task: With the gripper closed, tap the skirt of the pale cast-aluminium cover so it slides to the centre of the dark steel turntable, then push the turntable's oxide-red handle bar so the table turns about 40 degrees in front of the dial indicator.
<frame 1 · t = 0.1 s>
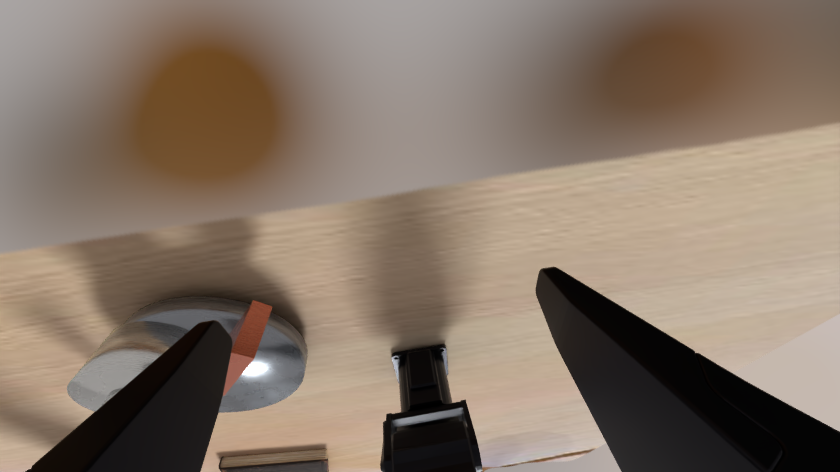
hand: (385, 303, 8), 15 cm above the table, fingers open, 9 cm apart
turntable: (208, 384, 27), point 5 cm above the table, hinge at 0.0°, touching cover
cover: (161, 347, 25), point 3 cm above the table, touching turntable
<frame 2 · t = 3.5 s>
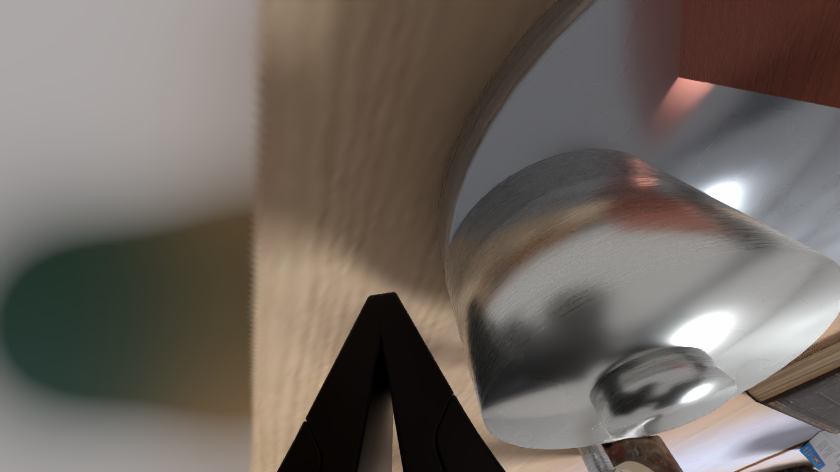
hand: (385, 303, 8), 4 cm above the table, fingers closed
turntable: (731, 255, 8), point 5 cm above the table, hinge at 0.0°, touching cover
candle: (617, 438, 32), on the table
ink box: (837, 430, 42), on the table
cover: (553, 257, 9), point 3 cm above the table, touching gripper, turntable
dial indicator: (545, 360, 20), on the table
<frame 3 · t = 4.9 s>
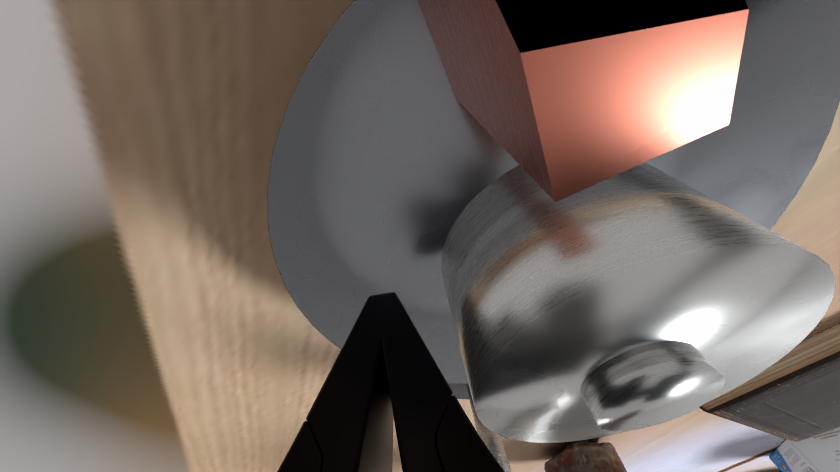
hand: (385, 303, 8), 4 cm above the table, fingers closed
turntable: (559, 275, 8), point 5 cm above the table, hinge at 0.0°, touching cover
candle: (571, 444, 32), on the table
hardcover book: (816, 369, 29), on the table
ink box: (806, 438, 42), on the table
cover: (549, 254, 9), point 3 cm above the table, touching gripper, turntable
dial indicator: (471, 368, 20), on the table
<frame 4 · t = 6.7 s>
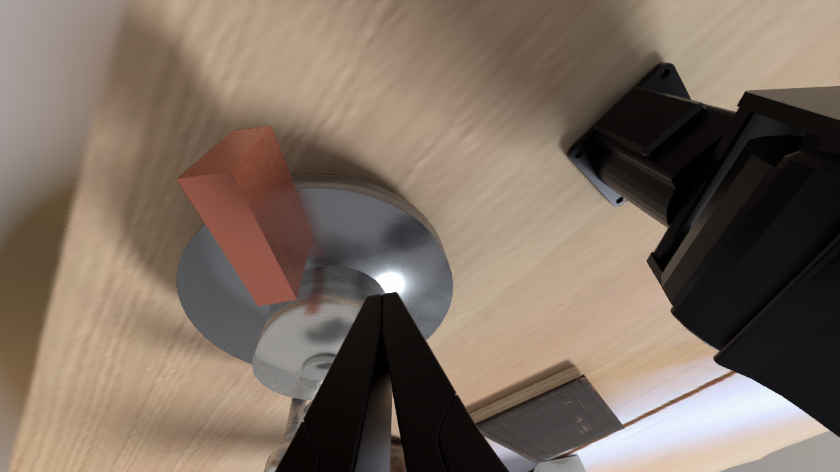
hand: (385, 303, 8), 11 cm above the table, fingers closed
turntable: (324, 319, 17), point 5 cm above the table, hinge at 0.0°, touching cover
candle: (382, 445, 41), on the table
hardcover book: (545, 410, 44), on the table
ink box: (552, 464, 59), on the table
cover: (332, 307, 19), point 3 cm above the table, touching turntable
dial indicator: (304, 368, 28), on the table
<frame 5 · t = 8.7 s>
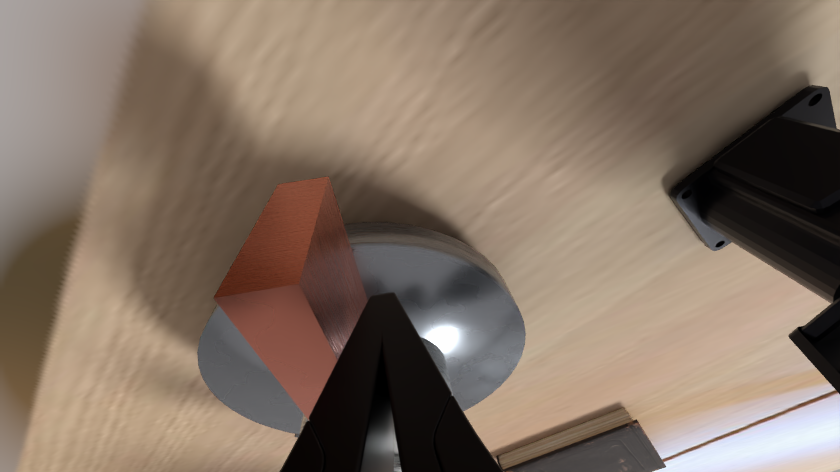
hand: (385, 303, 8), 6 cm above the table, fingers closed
turntable: (374, 394, 14), point 5 cm above the table, hinge at 0.9°, touching cover, gripper
hardcover book: (581, 447, 40), on the table
cover: (380, 373, 16), point 3 cm above the table, touching turntable
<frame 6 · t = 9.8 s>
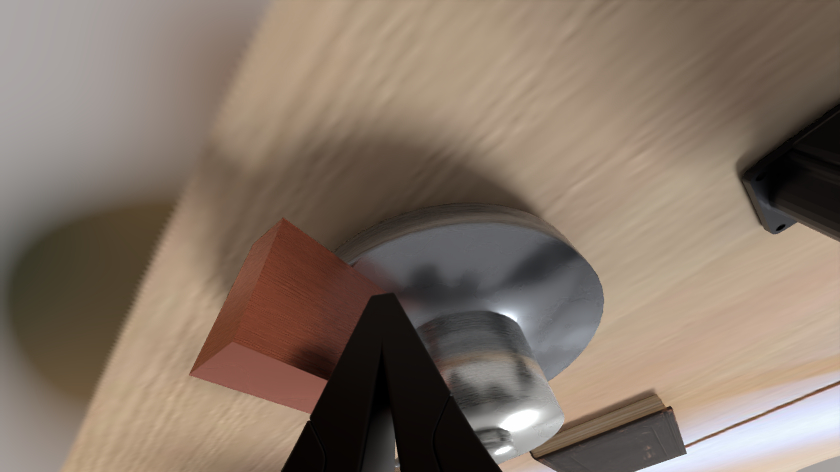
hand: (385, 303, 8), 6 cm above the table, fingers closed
turntable: (456, 376, 14), point 5 cm above the table, hinge at 32.8°, touching cover, gripper
hardcover book: (606, 436, 41), on the table
cover: (459, 354, 16), point 3 cm above the table, touching turntable
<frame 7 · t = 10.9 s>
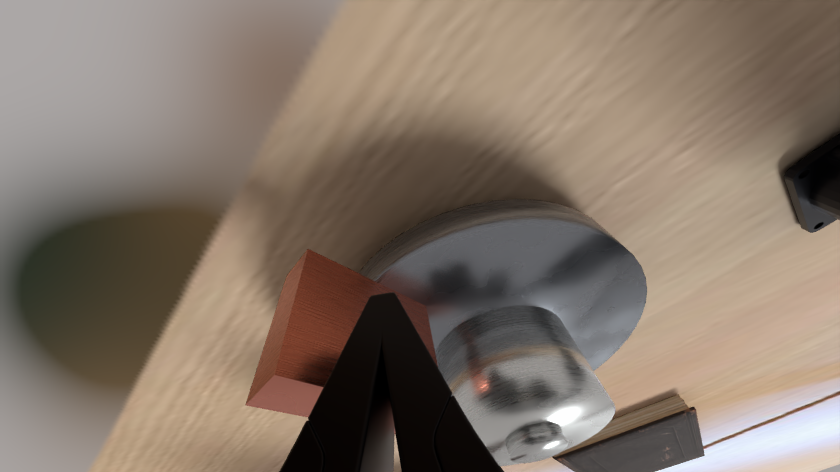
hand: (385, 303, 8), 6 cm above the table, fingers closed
turntable: (499, 372, 15), point 5 cm above the table, hinge at 43.8°, touching cover, gripper
hardcover book: (624, 436, 41), on the table
cover: (499, 350, 16), point 3 cm above the table, touching turntable
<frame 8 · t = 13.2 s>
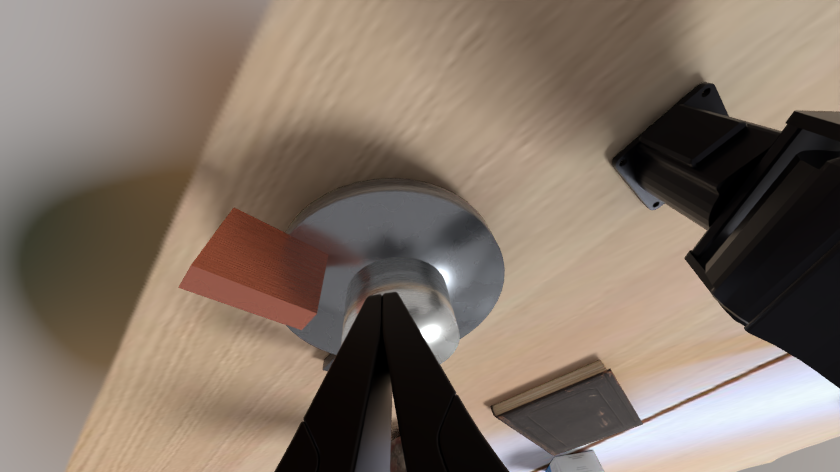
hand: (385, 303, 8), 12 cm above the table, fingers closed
turntable: (391, 308, 20), point 5 cm above the table, hinge at 43.9°, touching cover
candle: (410, 433, 43), on the table
hardcover book: (566, 404, 46), on the table
ink box: (568, 459, 61), on the table
cover: (397, 295, 21), point 3 cm above the table, touching turntable
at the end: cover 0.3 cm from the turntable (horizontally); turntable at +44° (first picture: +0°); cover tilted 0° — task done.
